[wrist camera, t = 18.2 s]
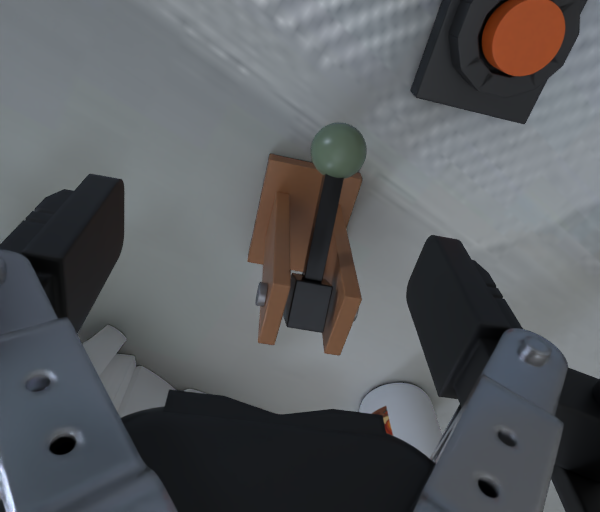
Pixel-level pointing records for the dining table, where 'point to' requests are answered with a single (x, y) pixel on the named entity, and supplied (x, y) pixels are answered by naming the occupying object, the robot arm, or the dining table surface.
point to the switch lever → (323, 224)
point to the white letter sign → (125, 374)
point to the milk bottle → (405, 414)
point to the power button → (523, 36)
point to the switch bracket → (302, 247)
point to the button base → (483, 62)
